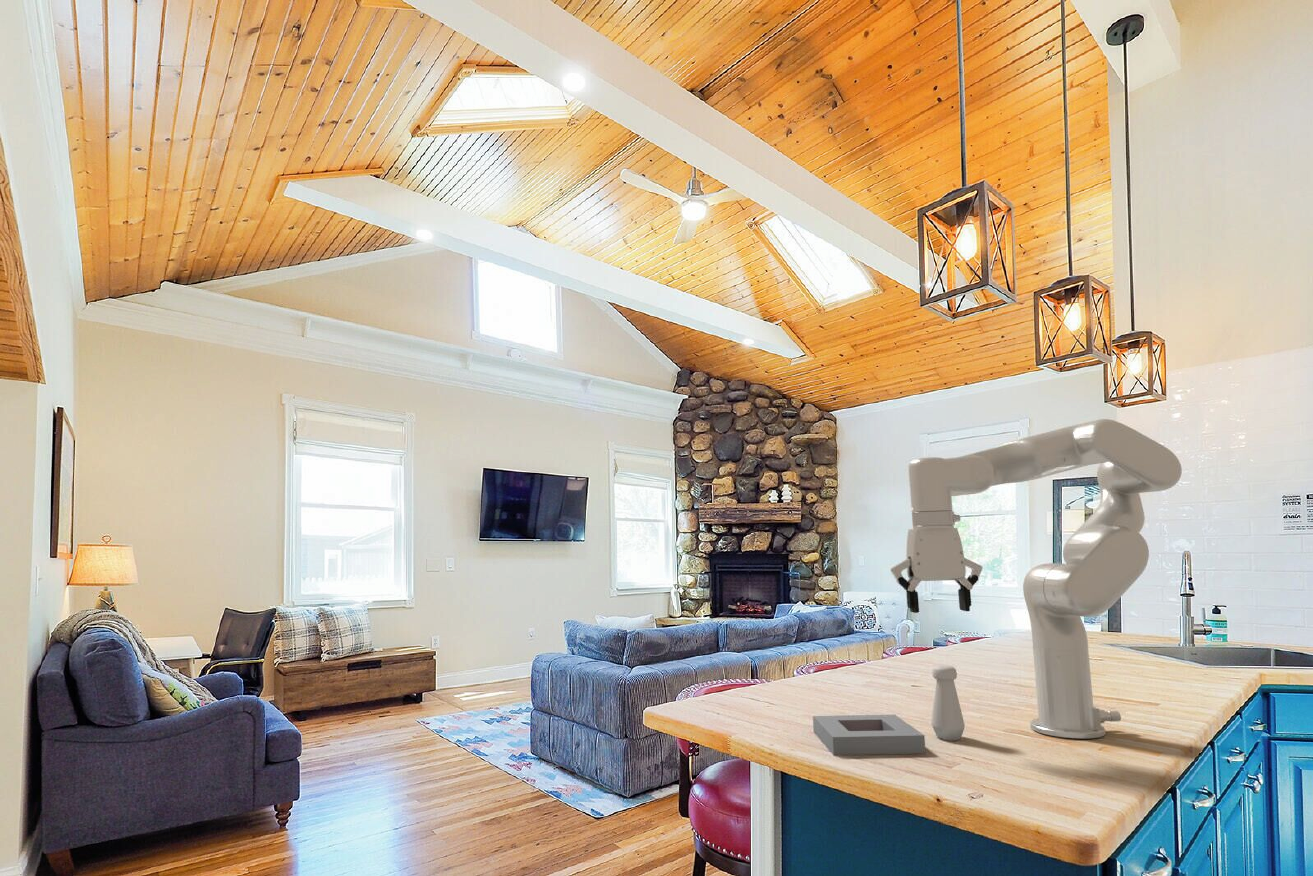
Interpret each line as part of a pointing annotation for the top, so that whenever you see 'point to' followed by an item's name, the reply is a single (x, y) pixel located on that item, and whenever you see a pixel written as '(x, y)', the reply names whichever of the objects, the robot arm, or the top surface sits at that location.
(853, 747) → the socket board
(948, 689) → the white bulbous peg
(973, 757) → the top surface
